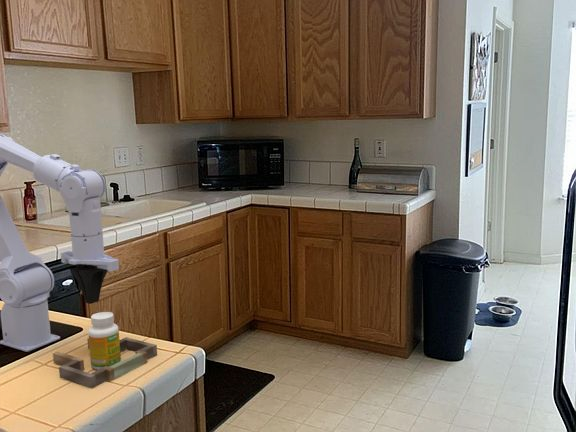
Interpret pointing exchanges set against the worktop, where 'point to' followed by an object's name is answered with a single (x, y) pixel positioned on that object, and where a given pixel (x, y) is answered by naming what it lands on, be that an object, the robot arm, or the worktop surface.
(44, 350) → the worktop surface
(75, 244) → the robot arm
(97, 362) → the supplement bottle
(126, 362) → the grey flat frame
